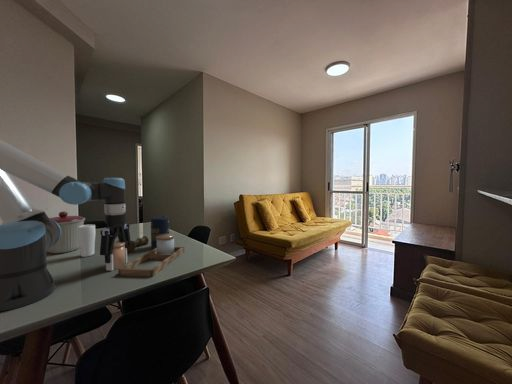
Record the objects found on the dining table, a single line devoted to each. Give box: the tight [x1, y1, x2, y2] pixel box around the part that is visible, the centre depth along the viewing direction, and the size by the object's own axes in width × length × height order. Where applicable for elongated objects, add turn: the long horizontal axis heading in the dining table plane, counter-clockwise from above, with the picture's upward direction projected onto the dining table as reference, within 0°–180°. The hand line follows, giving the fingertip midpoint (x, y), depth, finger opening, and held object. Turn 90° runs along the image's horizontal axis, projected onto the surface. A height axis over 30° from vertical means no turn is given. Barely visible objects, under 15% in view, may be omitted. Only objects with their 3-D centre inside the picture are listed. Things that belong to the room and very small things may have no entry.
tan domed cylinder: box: [111, 241, 126, 270], centre depth 88 cm, size 6×6×10 cm
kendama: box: [115, 235, 150, 253], centre depth 113 cm, size 6×10×20 cm
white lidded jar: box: [156, 233, 176, 254], centre depth 102 cm, size 9×9×10 cm
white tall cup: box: [78, 224, 97, 258], centre depth 102 cm, size 7×7×15 cm
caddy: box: [117, 246, 185, 278], centre depth 94 cm, size 29×14×2 cm, turn 176°
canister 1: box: [46, 211, 86, 254], centre depth 109 cm, size 18×18×21 cm
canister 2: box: [150, 215, 170, 249], centre depth 116 cm, size 10×10×18 cm
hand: (117, 265), depth 88 cm, fingers open, 7 cm apart
